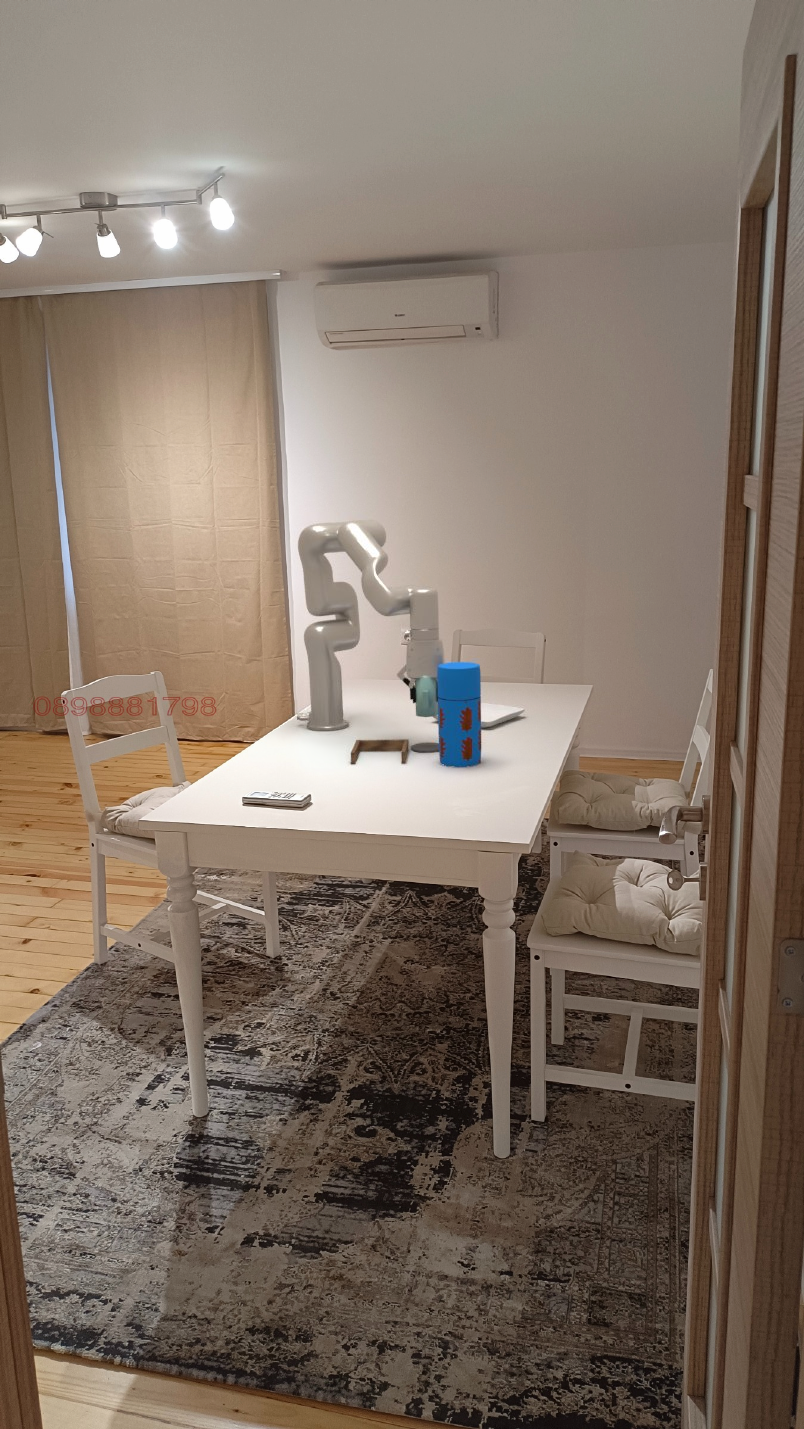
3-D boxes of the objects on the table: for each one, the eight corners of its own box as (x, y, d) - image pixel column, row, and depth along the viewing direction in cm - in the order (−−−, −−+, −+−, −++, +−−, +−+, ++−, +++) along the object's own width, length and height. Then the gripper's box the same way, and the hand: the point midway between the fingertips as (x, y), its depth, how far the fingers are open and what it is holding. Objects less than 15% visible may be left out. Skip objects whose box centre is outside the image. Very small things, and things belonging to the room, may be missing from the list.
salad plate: (489, 732, 297) (489, 720, 296) (429, 724, 310) (429, 713, 309) (526, 718, 313) (526, 707, 313) (468, 711, 326) (468, 700, 325)
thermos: (486, 757, 267) (485, 662, 262) (475, 768, 257) (474, 669, 252) (446, 755, 271) (444, 661, 265) (433, 766, 261) (431, 668, 255)
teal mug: (416, 712, 280) (415, 672, 277) (438, 712, 279) (437, 672, 277) (414, 718, 272) (413, 677, 269) (437, 718, 271) (436, 677, 269)
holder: (351, 764, 265) (350, 752, 264) (356, 750, 278) (356, 739, 278) (405, 763, 264) (405, 752, 263) (408, 750, 278) (408, 739, 277)
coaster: (409, 752, 275) (409, 750, 274) (411, 744, 283) (411, 742, 283) (443, 752, 274) (443, 750, 274) (444, 744, 283) (444, 742, 283)
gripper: (391, 637, 269) (393, 705, 273) (457, 636, 268) (458, 704, 272) (393, 634, 276) (395, 700, 280) (457, 632, 275) (459, 698, 279)
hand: (426, 701), depth 276 cm, fingers closed on teal mug, 6 cm apart
